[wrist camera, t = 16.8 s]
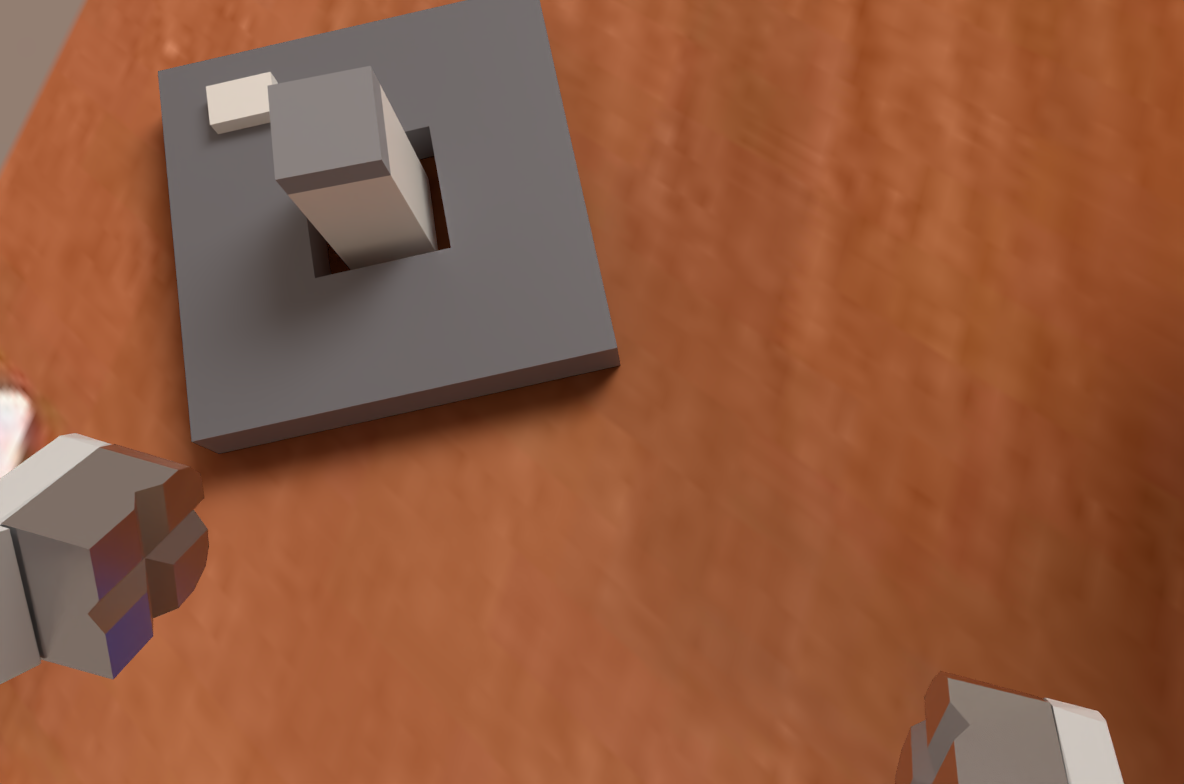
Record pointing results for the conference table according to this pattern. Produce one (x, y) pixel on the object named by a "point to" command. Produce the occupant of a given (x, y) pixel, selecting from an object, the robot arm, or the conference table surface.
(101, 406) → the conference table surface
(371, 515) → the conference table surface
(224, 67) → the socket plate
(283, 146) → the plug
